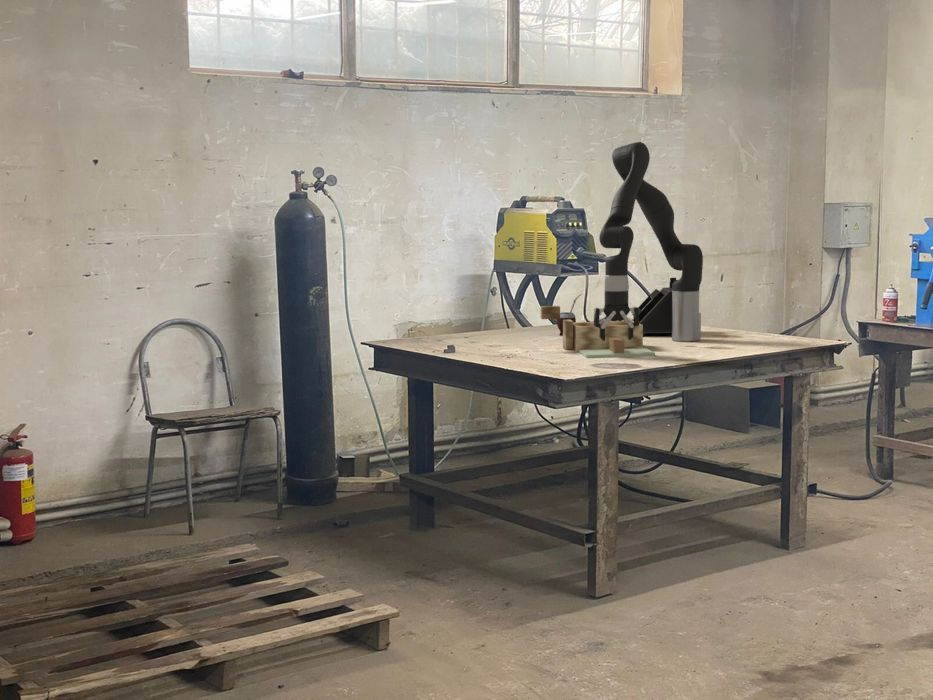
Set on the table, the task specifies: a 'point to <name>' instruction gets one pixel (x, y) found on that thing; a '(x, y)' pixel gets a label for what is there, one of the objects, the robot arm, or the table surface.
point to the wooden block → (550, 312)
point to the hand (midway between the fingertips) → (616, 339)
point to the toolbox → (589, 335)
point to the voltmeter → (657, 311)
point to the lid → (616, 350)
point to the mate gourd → (566, 317)
